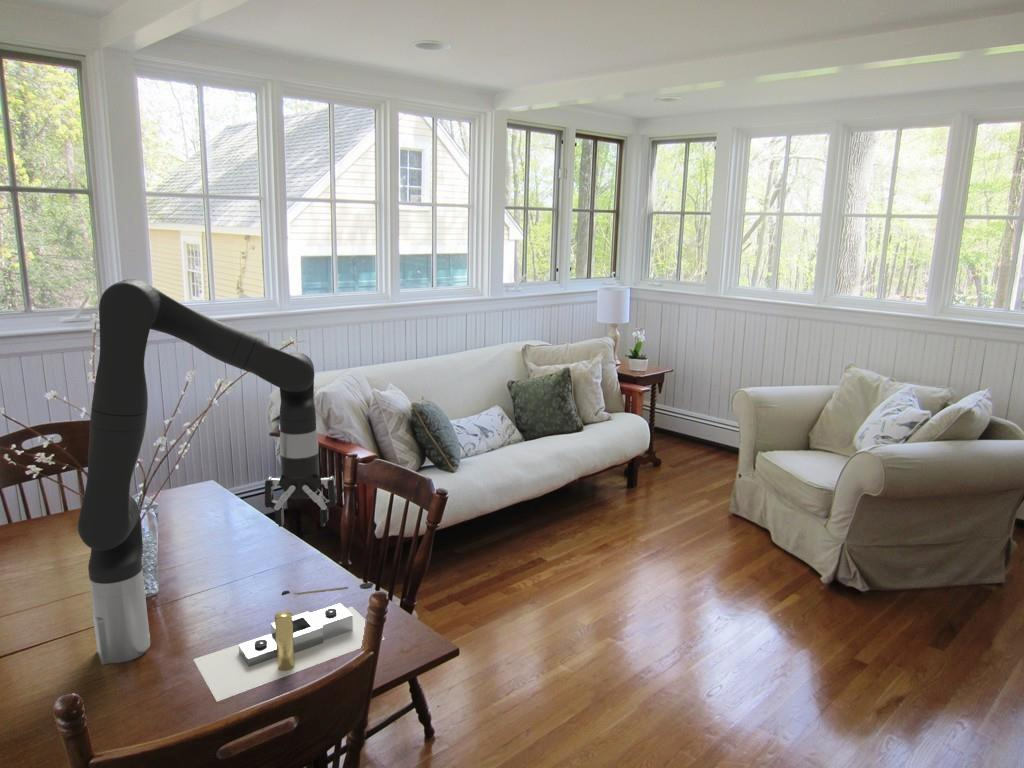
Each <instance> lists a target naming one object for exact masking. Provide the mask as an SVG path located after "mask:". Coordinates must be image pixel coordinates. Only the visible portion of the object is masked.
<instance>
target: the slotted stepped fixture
mask: <svg viewBox="0 0 1024 768" xmlns="http://www.w3.org/2000/svg"><path fill="white" fill-rule="evenodd" d="M346 608H347V607H345V606H344V605H343V604H342V603H341V602H339V603H336V604H333V605H331V606H326V607H325V608H321V609H318V610H315V611H312V612H310V611H305V612H302V613H299V614H296V615H294V616H293V615H292V624H293V641H294V653H297V652H299V651H302V650H305V649H308V648H311V647H314V646H316V645H319V644H322V643H323V641H324V640H327V639H329V638H332V637H335V636H338V635H341V634H344V633H346V632H349V631H352V630H353V618H352V614H351V613H350V612H349V611H348V610H347V609H346ZM270 628H271V629H270V631H271V633H272V634H271V633H268V634H269V635H268V634H265V635H266V636H265V635H263V637H262V636H259V637H260V638H259V637H256V638H257V639H256V638H253V639H254V640H253V639H250V640H251V641H250V640H247V641H248V642H247V641H244V642H245V643H244V642H241V643H242V644H241V643H238V644H239V645H238V644H237V645H238V646H239V653H240V655H241V656H242V658H243V659H244V661H245V662H246V664H247V665H248V667H250V666H253V665H256V664H259V663H262V662H265V661H267V660H270V659H273V658H276V657H277V647H276V631H275V621H274V622H271V623H270Z"/></svg>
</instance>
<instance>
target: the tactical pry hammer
mask: <svg viewBox="0 0 1024 768" xmlns="http://www.w3.org/2000/svg"><path fill="white" fill-rule="evenodd" d="M373 583H374V582H364V583H360V584H359V588H360V589H369V588H372V587H373V586H374V584H373ZM348 589H349V586H343V587H341V586H340V587H334V588H328V589H327V588H326V589H319V590H311V591H303V592H301V591H300V592H294V593H293V595H306V594H315V593H316V594H317V593H324V592H333V591H342V590H348ZM289 594H291V593H290V590H283V591H282V592H281V596H286V595H289Z"/></svg>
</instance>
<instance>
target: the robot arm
mask: <svg viewBox="0 0 1024 768" xmlns="http://www.w3.org/2000/svg"><path fill="white" fill-rule="evenodd" d="M98 315H99V316H98V317H99V318H98V319H99V321H98V322H99V359H98V364H97V370H96V374H95V375H96V376H95V381H94V385H93V386H94V387H93V388H94V389H93V393H92V401H91V411H90V419H89V437H88V448H87V449H88V452H87V477H86V483H85V484H86V485H85V490H84V493H83V498H82V502H81V504H82V505H81V509H80V512H79V515H78V519H77V520H78V521H77V531H78V534H79V538H80V539H81V540H82V542H83V543H84V544H85V545H86V546H87V547H89V548H90V549H91V550H90V556H89V561H88V567H87V568H88V569H87V570H88V577H89V586H90V592H91V601H92V608H91V609H92V610H91V611H92V613H91V614H92V620H93V628H94V634H95V635H94V636H95V642H96V643H95V644H96V652H97V655H98V657H99V660H100V662H101V665H102V666H104V665H108V664H120V663H125V662H129V661H133V660H135V659H137V658H139V657H141V656H143V655H144V654H145V653H146V651H147V650H148V649H150V647H151V633H150V628H149V627H150V626H149V625H150V624H149V617H148V610H147V609H148V608H147V601H146V592H145V591H146V590H145V589H146V588H145V582H144V580H145V579H144V572H143V561H142V559H143V558H142V557H143V551H144V550H143V549H144V546H143V530H142V529H143V528H142V518H141V512H140V507H139V504H138V502H137V501H136V499H135V498H134V497H133V496H131V494H130V491H131V482H132V476H133V474H134V473H133V472H134V470H135V467H136V464H137V461H138V458H139V455H140V451H141V448H142V445H143V440H144V436H145V432H146V425H147V418H148V417H147V416H148V406H149V405H148V403H149V402H148V401H149V399H148V398H149V397H148V396H149V395H148V394H149V393H148V385H147V379H146V371H145V356H146V350H147V345H148V338H149V335H150V330H152V331H153V330H154V331H156V332H160V333H164V334H167V335H169V336H172V337H175V338H177V339H179V340H182V341H184V342H186V343H188V344H189V345H192V347H194V348H196V349H198V350H200V351H202V352H203V353H204V354H205V355H206V354H207V355H208V356H210V357H212V358H214V359H215V360H218V361H220V362H222V363H225V364H227V365H230V366H232V367H235V368H237V369H239V370H242V371H245V372H248V373H251V374H253V375H256V376H257V377H259V378H261V379H262V380H264V381H265V382H268V383H269V384H271V385H273V386H275V387H278V388H279V396H280V406H279V427H280V428H279V431H280V432H279V459H280V461H279V463H280V478H274V476H273V475H269V476H267V478H266V480H265V482H264V506H265V508H267V509H268V508H271V509H273V510H274V522H275V523H276V525H277V526H278V527H279V528H282V527H283V526H284V525H285V512H284V511H285V510H284V506H283V505H284V504H285V503H286V502H287V500H288V499H289V498H291V499H292V500H300V499H301V500H309V499H311V500H312V501H313V502H314V503H315V504H317V505H318V507H319V508H320V509H319V518H320V519H319V520H320V521H319V522H320V527H325V526H326V524H327V523H328V521H329V508H334V507H335V506H336V505H337V503H338V494H337V493H338V492H337V484H336V477H335V476H334V475H331V476H329V477H322V476H321V475H320V463H319V462H320V461H319V460H320V459H319V454H320V453H319V450H320V446H319V438H318V433H317V412H316V407H315V401H314V399H315V397H314V396H315V392H314V391H315V366H314V363H313V361H312V359H311V358H310V357H309V356H308V355H306V354H305V353H303V352H301V351H291V352H289V353H288V352H285V351H283V350H282V349H279V348H276V347H274V346H272V345H271V343H270V342H268V341H267V340H265V339H263V338H261V337H259V336H257V335H254V334H252V333H250V332H247V331H245V330H242V329H240V328H238V327H234V326H232V325H229V324H227V323H224V322H222V321H219V320H217V319H214V318H212V317H209V316H207V315H205V314H203V313H200V312H199V311H196V310H194V309H192V308H191V307H188V306H186V305H184V304H182V303H181V302H179V301H177V300H175V299H174V298H172V297H170V296H168V295H167V294H165V293H164V292H162V291H160V290H159V289H157V288H156V287H154V286H152V285H151V284H149V283H148V282H146V281H144V280H141V279H134V278H130V279H129V278H128V279H125V280H121V281H118V282H116V283H113V284H111V285H110V286H109V287H107V288H106V289H105V291H104V292H103V293H101V297H100V299H99V305H98ZM278 485H279V487H280V488H281V489H282V490H283V491H284V492H283V493H282V494H281V496H280V497H279V498H278V500H276V499H274V497H275V496H274V490H275V489H276V488H277V486H278ZM321 485H323V486H324V488H325V489H327V490H328V499H327V498H326V497H325V496H324V494H323V492H322V491H321V490H320V489H319V488H320V487H321Z"/></svg>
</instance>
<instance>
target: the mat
mask: <svg viewBox="0 0 1024 768" xmlns="http://www.w3.org/2000/svg"><path fill="white" fill-rule="evenodd" d="M345 608H346V609H347V610H348V611H349V612H350V613H351V614H352V618H353V630H352V631H349V632H346V633H344V634H341V635H338V636H335V637H332V638H329V639H327V640H324V641H323V643H322V644H319V645H316V646H314V647H311V648H308V649H305V650H302V651H299V652H297V653H294V657H295V666H294V668H293V669H291V670H288V671H281V670H279V669H278V662H277V657H276V658H273V659H270V660H267V661H265V662H262V663H259V664H256V665H253V666H250V667H248V665H247V664H246V662H245V661H244V659H243V658H242V656H241V655H240V653H239V646H238V645H239V644H242V643H245V642H248V641H251V640H254V639H257V638H260V637H263V636H266V635H269V634H272V632H271V633H268V634H265V635H263V636H262V635H261V636H259V637H256V638H253V639H250V640H246V641H244V642H241V643H237V644H235V645H233V646H229V647H226V648H223V649H220V650H217V651H215V652H211V653H208V654H205V655H202V656H200V657H196V658H194V659H193V660H192V661H193V663H194V664H195V665H196V668H197V669H198V671H199V673H200V674H201V676H202V678H203V680H204V681H205V683H206V685H207V687H208V688H209V691H210V692H211V694H212V695H213V698H214V699H215V702H216V703H218V702H221V701H223V700H226V699H228V698H231V697H234V696H237V695H240V694H242V693H244V692H247V691H250V690H253V689H255V688H258V687H260V686H263V685H267V684H269V683H272V682H274V681H277V680H280V679H281V678H282V679H283V678H285V677H288V676H290V675H293V674H295V673H298V672H301V671H304V670H306V669H310V668H312V667H315V666H318V665H319V664H322V663H325V662H328V661H332V660H333V659H336V658H338V657H341V656H344V655H347V654H349V653H352V652H354V651H357V649H358V650H360V649H362V648H361V646H362V640H363V635H364V627H365V620H366V619H365V617H363V616H362V615H361V614H360V613H359V612H358V611H357V610H356V609H355V608H354V607H353V606H349V607H345ZM384 640H386V638H385V637H384V636H383V639H382V641H384Z"/></svg>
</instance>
